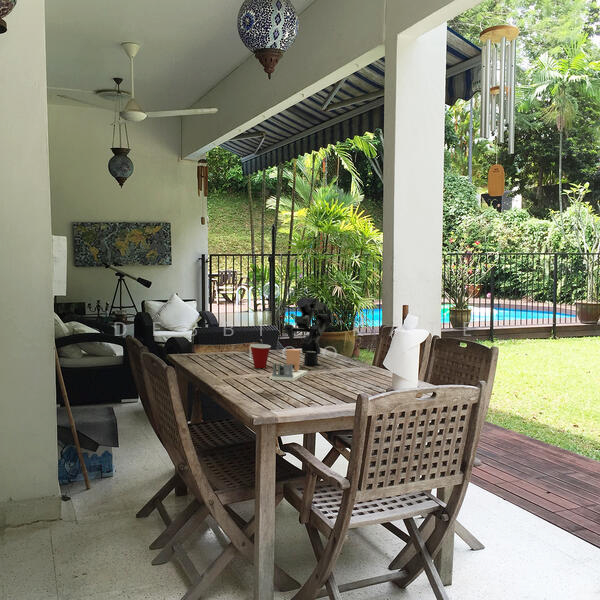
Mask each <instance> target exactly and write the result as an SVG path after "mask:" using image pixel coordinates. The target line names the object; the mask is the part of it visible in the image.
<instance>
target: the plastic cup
mask: <svg viewBox="0 0 600 600" xmlns="http://www.w3.org/2000/svg"><path fill="white" fill-rule="evenodd" d="M249 346H250V349H251V356H252V361H253V367H254V369H256V368H264V369H266V368H267V362H268V358H269V352H270V349H271V347H272V346H271V345H270V344H264V343H263V344H262V343H251V344H250V345H249Z"/></svg>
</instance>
